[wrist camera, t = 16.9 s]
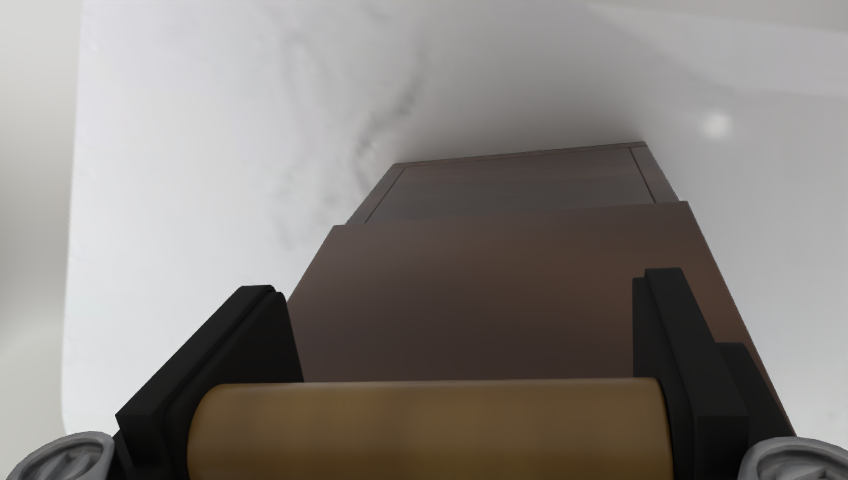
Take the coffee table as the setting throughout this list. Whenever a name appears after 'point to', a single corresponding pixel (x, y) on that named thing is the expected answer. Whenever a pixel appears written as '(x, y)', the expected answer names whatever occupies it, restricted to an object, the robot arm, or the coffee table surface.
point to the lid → (470, 353)
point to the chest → (517, 184)
